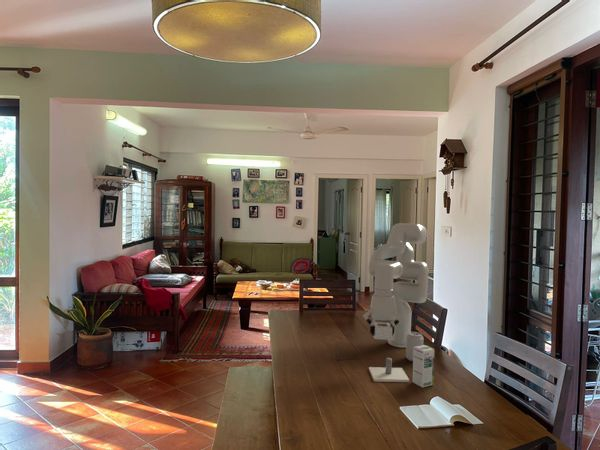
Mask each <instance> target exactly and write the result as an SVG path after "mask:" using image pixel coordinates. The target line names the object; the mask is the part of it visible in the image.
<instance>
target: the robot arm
mask: <svg viewBox="0 0 600 450" xmlns="http://www.w3.org/2000/svg"><path fill="white" fill-rule="evenodd" d="M427 238H428V232H427V228H426V227H425V226H424V225H421V224H419V223H406V222H400V223H399V222H398V223H395V224H394V225H393V226H392V227H391V229H390V232H389V236H388V238H387V241H386V243H385V244H382V245H381V246H379V247H378V248H376V249H375V251H374V252H373V253H372V255H371V258H370V261H369V263H368V273H369V275H370V276H372V277H374V294H372V295H371V300H370V306H369V308H370V309H369V310H368V311H366V312H365V313H364V314H363V315H362V318H364V320H365V321H366V322H367V323H368V324H369V325H370V327H369V332H370V334H371V336H374V323H375V322H377V321H386V322H388V321H389V323H390V325H391V326H392V340H387V343H388V344H389V345H390V346H392V347H396V348H401V349H403V348H405V349H406V341H407V335H408V333H409V332H412V331H411V330H412V308H411V306H410V305H409V303H417V304H423V303H425V302H426V301H427V298H428V290H429V289H428V286H429V266H428V264H427V263H426V262H424V261H418V260H415V259H414V255H415V250H414V248H413V247H412V245H411V244H417V245H419V244H420V245H421V244H424V243H426V242H427V241H426V240H427ZM395 257H396V259H395V260H389V259H391V258H395ZM394 279H395V280H397V279H402V280H409V281H417V283H416V282H409V281H396V282H394ZM408 302H409V303H408ZM369 317H371V319H370V318H369Z"/></svg>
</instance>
